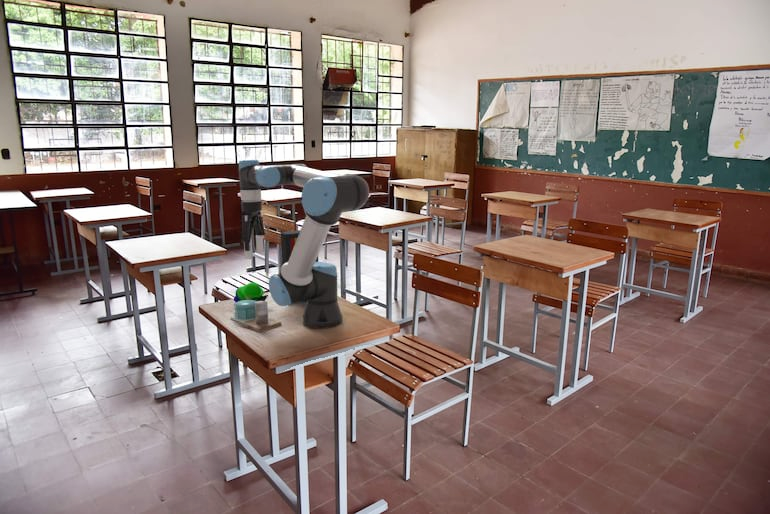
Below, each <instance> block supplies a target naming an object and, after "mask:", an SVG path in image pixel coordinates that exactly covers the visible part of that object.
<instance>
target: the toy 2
mask: <svg viewBox="0 0 770 514" xmlns="http://www.w3.org/2000/svg"><path fill="white" fill-rule="evenodd" d="M300 231H301V229H299V230H290V231H280V246H281V247H280V251H281V266H282V265H283V264H285V263H286V262H288V261H289V259H290V256H291V254H292V251H293V248H294V246H295V243H296V241H297V238H298V236H299V233H300ZM315 262H319V256H318V257H317V259H316V261H315ZM303 302H304V301H303ZM303 302H302V303H303Z"/></svg>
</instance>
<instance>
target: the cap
mask: <svg viewBox="0 0 770 514" xmlns="http://www.w3.org/2000/svg"><path fill="white" fill-rule="evenodd" d="M255 302H257V301H255V300H242V301H238V302H234V311H232V313H233V315H235V317H236V318H237V319H243V320H248V319H253V318H256V312H255Z"/></svg>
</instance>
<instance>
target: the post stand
mask: <svg viewBox="0 0 770 514" xmlns="http://www.w3.org/2000/svg"><path fill="white" fill-rule="evenodd" d="M268 311H269V310H268V302H267V301H266V300H265V301H258V302H255V312H256V319H254V320H251V321H248V322H245V323H242V327H245V328H247V329H249V328H250V330H252V331H255V332H258V333H262V332H265V331H268V330H271V329H273V328H276V327H280V326H282V321H280V320H277V319H273V318H271V317H269V315H268V314H269V313H268Z"/></svg>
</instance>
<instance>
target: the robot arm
mask: <svg viewBox="0 0 770 514" xmlns="http://www.w3.org/2000/svg"><path fill="white" fill-rule="evenodd" d="M238 176H239V177H238V178H239V189H240V191H239V195H240V200H241V202H240V204H241V205H240V207H241V211H242V212H244V213H246V214H245V215H242V226H241V227H242V230H241V238H240V242H241V243H243V248H244V249H243V250H244V260H253V245H252V243H253V242H252V241H251V240H252V234H253V230H254V231H255V234H256V235H255V248H256V252H258V253H264V251H265V248H264V245H265V244H264V236H266V232H265V227H264V226H265V225H264V223H263V218H262V210H263V207H262V206H263V205H262V201H261V200H262V190H261V187H264V188H274V187H275V186H276V187H277V186H286V185H289V186H290V185H293V186H297V187H300V188H302V192H301V198H302V200H301V205H302V207H303V211H304V213H305V218H304V221H303V223H302V226H301V228H300V230H301V231H300V233H299V236H298V238H297V241H296V243H295V246H294V248H293V251H292V254H291V256H290V259H289V261H288V262H286V263H285V264H283V265H282V264H281V267H280V269H279V273H277V274H276V273H275V274H273V275H271V276H270V277H269V279H268V289H269V293H270V296H271V298H272V300H273V301H274V302H275V304H276V305H278V306H280V307H286V306H292V305H295V304H299V303H303V301H305V302H306V306H305V308H304V313H303V315H302V325H304V326H305V327H307V328H311V329H319V330H321V329H330V328H334V327H338V326H340V325H341V324H343V321H344V320H343V314H342V312H341V309H340V305H339V302H338V299H339V298H338V277H339V276H338V270H337V266H336V265H335V264H333V263H329V262H324V261H318V262H315V261H316V259H317V257H318V258H319V254H320V252H321V250H322V247H323V245H324V243H325V241H326V238H327V235H328V234H329V231H330V229H331V227H332V226H335V225H336V224H337V223H338V222H339V220H340V218H341V215H342V213H344V212H345V213H346V212H347V213H348V212H354V211H356V210H359V209H361V208H362V207H364V206H365V204H366V203H367V202H368V201H369V197H370V187H369V184H368V182H367V180H365V179H364V178H363V177H361V176H359V175H357V174H350V173H343V174H337V173H332V172H328V171H323V170H320V169H316V168H310V167H308V166H307V165H306V164H304V163H292V164H274V165H260V161H259V160H258V159H253V158H252V159H240V160H239V161H238Z"/></svg>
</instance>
